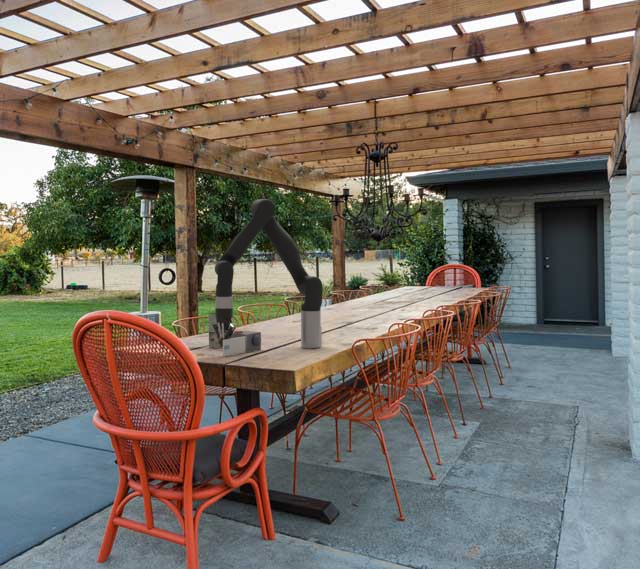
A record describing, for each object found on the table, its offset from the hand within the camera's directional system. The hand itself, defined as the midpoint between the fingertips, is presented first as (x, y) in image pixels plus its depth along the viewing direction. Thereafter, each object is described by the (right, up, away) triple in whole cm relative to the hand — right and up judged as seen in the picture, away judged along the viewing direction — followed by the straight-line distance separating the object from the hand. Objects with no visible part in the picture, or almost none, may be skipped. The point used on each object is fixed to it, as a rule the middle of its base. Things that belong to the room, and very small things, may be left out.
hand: (224, 346), depth 243 cm
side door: (+5, -3, +1) cm, 6 cm away
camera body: (+8, -3, +13) cm, 15 cm away
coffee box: (-6, -3, +24) cm, 24 cm away
